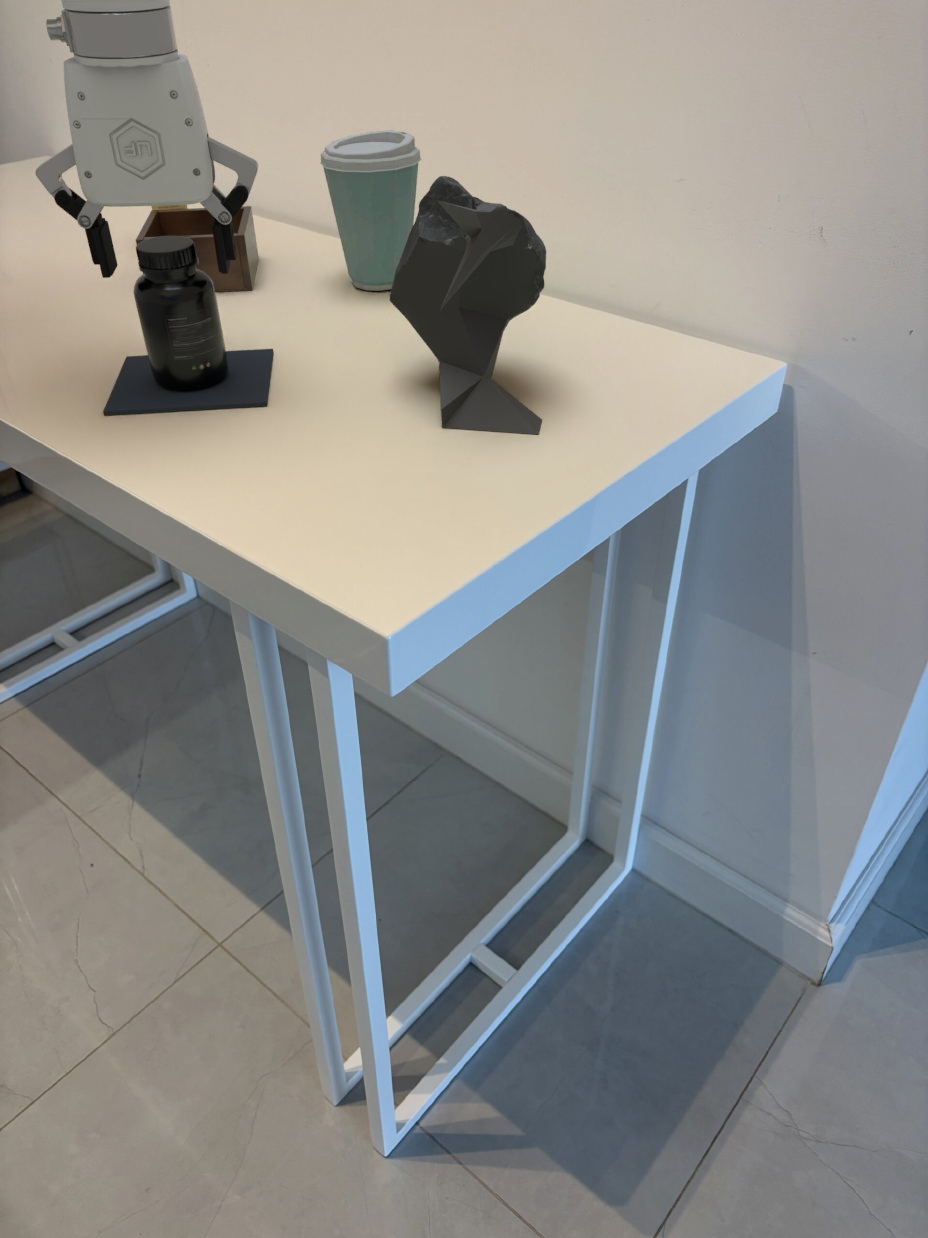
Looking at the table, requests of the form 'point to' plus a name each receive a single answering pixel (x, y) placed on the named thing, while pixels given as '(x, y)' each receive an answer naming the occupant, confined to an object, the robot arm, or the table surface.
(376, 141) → the disposable coffee cup
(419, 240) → the dark grey faceted sculpture
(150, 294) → the supplement bottle
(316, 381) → the table surface
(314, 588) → the table surface
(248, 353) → the mat
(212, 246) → the box
